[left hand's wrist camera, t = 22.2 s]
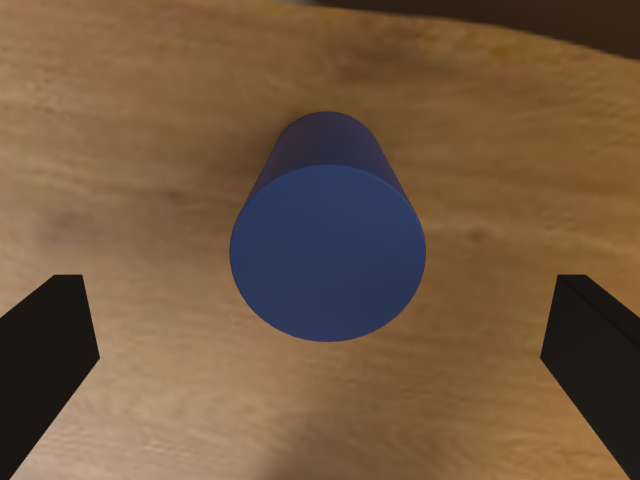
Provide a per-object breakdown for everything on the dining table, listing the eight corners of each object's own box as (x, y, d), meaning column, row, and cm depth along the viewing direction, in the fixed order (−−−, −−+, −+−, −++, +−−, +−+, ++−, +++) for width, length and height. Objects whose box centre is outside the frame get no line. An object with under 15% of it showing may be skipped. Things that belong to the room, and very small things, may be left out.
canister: (303, 89, 24) (284, 125, 13) (405, 147, 25) (466, 225, 14) (252, 190, 26) (198, 294, 15) (347, 239, 27) (361, 369, 16)
